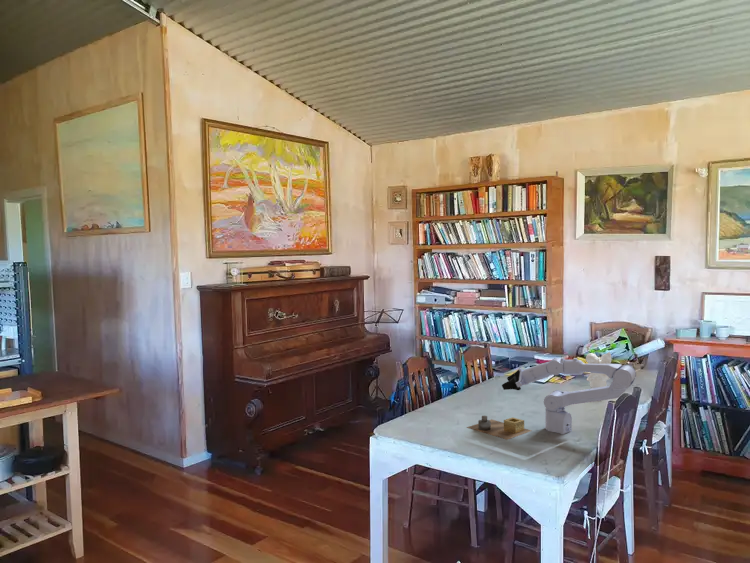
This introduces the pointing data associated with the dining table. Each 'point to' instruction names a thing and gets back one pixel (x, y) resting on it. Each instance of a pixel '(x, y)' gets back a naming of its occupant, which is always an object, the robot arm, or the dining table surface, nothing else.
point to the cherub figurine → (598, 378)
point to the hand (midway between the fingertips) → (505, 383)
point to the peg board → (495, 428)
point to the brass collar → (514, 425)
